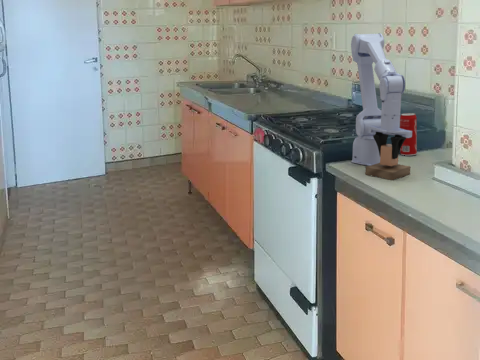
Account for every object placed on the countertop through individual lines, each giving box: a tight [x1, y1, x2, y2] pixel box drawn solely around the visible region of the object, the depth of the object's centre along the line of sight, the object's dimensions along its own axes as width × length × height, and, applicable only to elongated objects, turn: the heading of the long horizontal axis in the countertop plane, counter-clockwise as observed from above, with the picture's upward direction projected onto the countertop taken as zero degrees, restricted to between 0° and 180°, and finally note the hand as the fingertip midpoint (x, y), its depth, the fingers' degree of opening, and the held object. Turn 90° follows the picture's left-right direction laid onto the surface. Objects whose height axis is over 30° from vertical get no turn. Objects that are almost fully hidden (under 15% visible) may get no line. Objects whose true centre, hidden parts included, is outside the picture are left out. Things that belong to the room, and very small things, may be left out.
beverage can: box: [399, 112, 418, 157], centre depth 206 cm, size 6×6×15 cm
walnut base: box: [364, 163, 411, 181], centre depth 182 cm, size 10×10×2 cm
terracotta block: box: [380, 143, 399, 166], centre depth 181 cm, size 4×4×6 cm
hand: (388, 157), depth 181 cm, fingers closed on terracotta block, 4 cm apart
